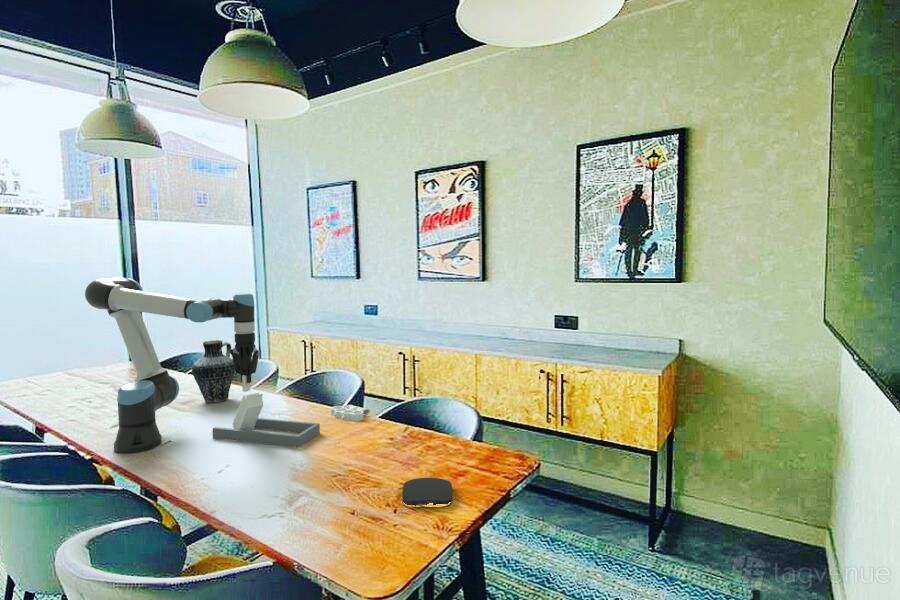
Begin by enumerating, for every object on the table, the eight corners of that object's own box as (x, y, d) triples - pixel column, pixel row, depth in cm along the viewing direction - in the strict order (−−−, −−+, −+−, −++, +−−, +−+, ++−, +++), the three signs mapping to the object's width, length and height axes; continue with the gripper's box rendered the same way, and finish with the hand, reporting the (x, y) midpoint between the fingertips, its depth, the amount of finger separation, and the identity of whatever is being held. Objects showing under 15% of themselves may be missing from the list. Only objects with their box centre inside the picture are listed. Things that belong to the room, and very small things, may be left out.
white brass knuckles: (375, 416, 224) (351, 424, 212) (347, 409, 234) (323, 416, 222) (375, 408, 224) (351, 416, 212) (347, 402, 234) (323, 409, 222)
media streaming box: (451, 485, 154) (451, 476, 153) (453, 509, 139) (453, 498, 139) (404, 486, 153) (404, 476, 153) (401, 509, 138) (401, 499, 138)
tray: (298, 447, 184) (298, 436, 183) (212, 438, 192) (212, 428, 192) (319, 433, 199) (319, 423, 199) (239, 425, 208) (239, 416, 208)
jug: (219, 407, 233) (217, 345, 231) (183, 404, 237) (181, 343, 235) (245, 396, 254) (244, 338, 251) (212, 393, 257) (211, 337, 255)
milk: (251, 433, 198) (265, 400, 187) (236, 436, 194) (249, 403, 183) (247, 421, 201) (260, 387, 190) (231, 424, 197) (244, 390, 186)
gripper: (264, 331, 197) (266, 389, 199) (236, 330, 200) (238, 387, 202) (253, 334, 190) (254, 394, 192) (224, 333, 193) (225, 392, 195)
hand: (246, 390), depth 197 cm, fingers closed
